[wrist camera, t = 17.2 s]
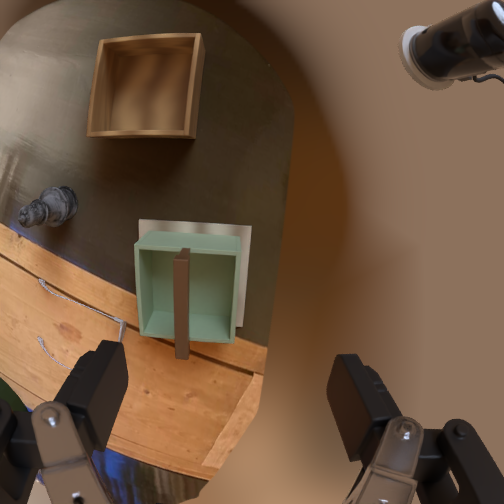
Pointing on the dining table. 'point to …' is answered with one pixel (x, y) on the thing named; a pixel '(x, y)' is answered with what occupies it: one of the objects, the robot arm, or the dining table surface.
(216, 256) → the top basket
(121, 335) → the eyeglasses
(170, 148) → the dining table surface
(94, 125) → the brown wooden open box
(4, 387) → the flower pot
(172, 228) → the placemat
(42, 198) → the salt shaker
